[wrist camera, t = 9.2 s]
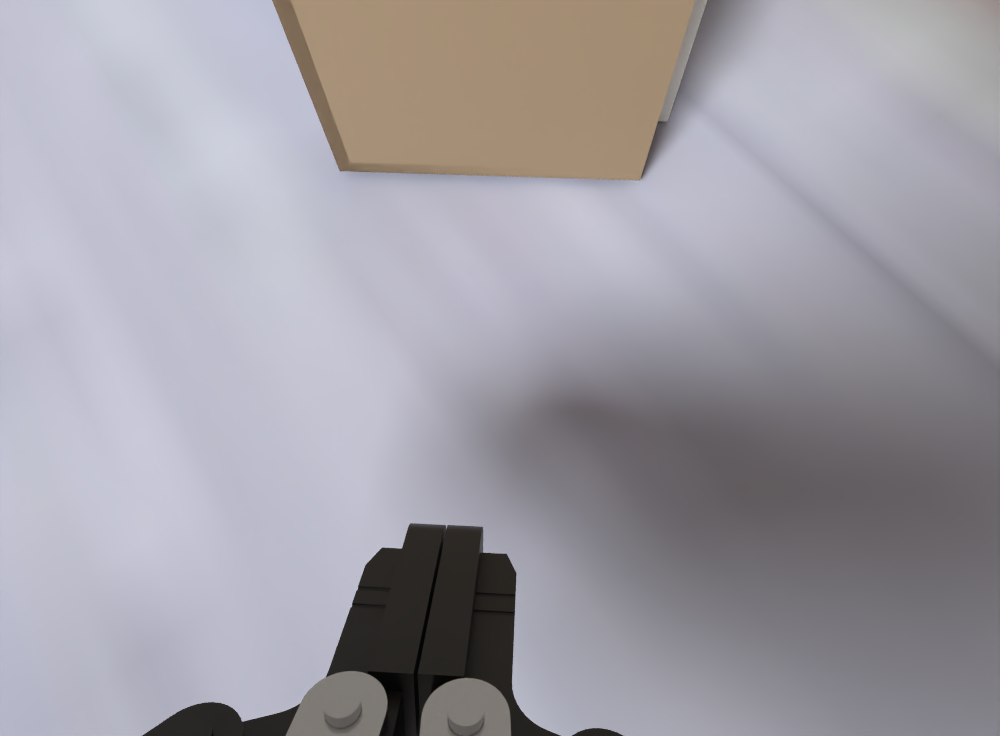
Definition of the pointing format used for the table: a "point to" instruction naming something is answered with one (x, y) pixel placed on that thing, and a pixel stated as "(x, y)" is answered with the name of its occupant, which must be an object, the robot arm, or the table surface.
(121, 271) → the table surface
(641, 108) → the wooden drawer
